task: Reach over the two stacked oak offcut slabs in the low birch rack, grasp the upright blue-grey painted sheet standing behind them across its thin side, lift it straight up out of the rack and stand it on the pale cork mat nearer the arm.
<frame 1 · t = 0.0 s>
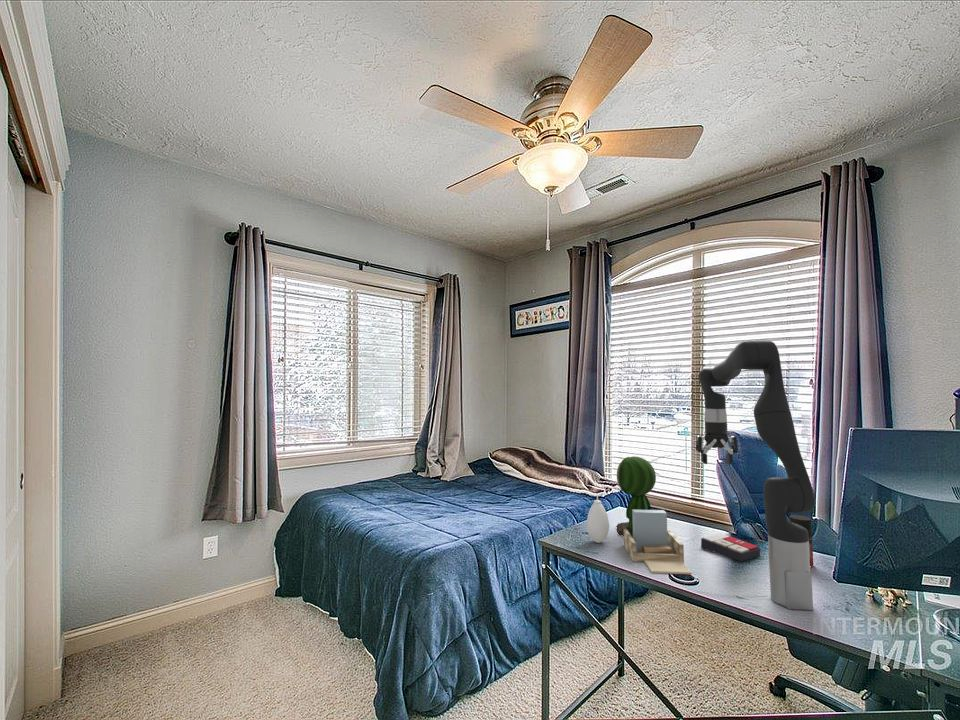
hand: (717, 464, 167), 29 cm above the table, fingers open, 8 cm apart
offcut slab lower: (655, 559, 152), on the table
sheet: (650, 551, 158), on the table
calculator: (729, 553, 158), on the table
cork mat: (667, 567, 144), on the table
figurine: (639, 532, 178), on the table
white rounded upright piece: (598, 542, 168), on the table
offcut slab upper: (656, 553, 152), point 2 cm above the table
rack: (652, 553, 156), on the table
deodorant: (802, 564, 146), on the table
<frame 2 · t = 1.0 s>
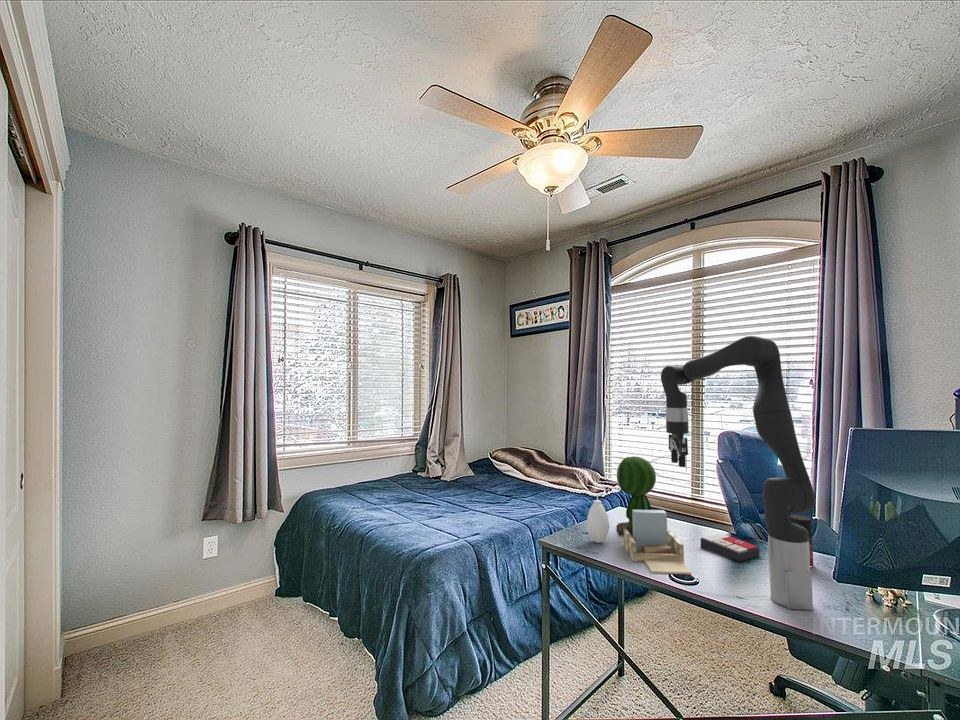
hand: (678, 464, 162), 30 cm above the table, fingers open, 8 cm apart
offcut slab lower: (655, 559, 152), on the table, touching offcut slab upper
offcut slab upper: (656, 553, 152), point 2 cm above the table, touching offcut slab lower
everything else where it was.
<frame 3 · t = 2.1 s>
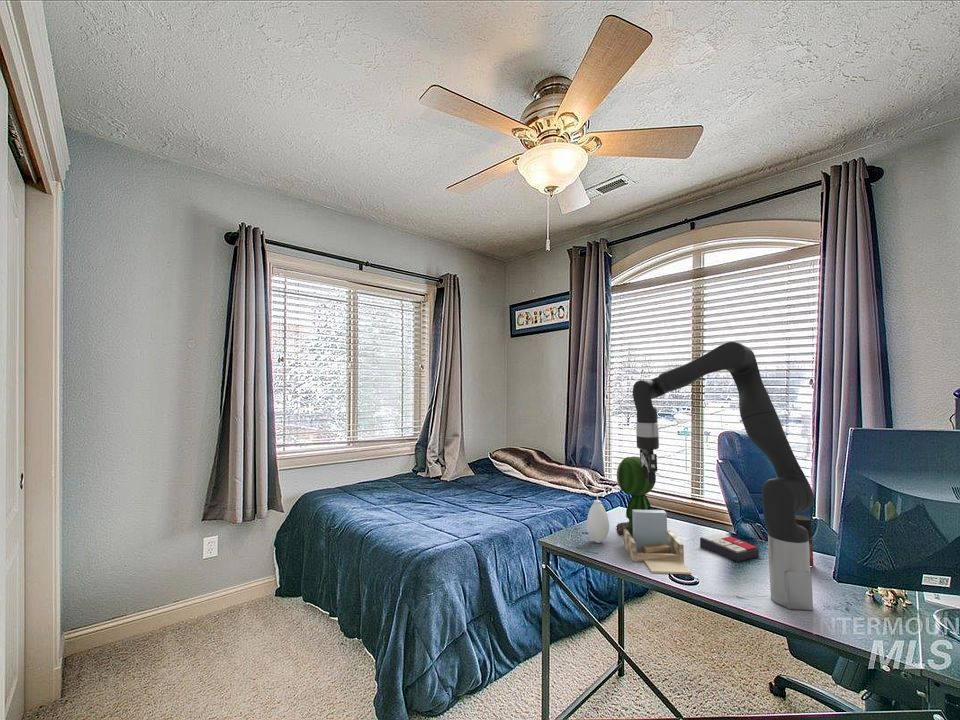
hand: (648, 480, 160), 25 cm above the table, fingers open, 8 cm apart
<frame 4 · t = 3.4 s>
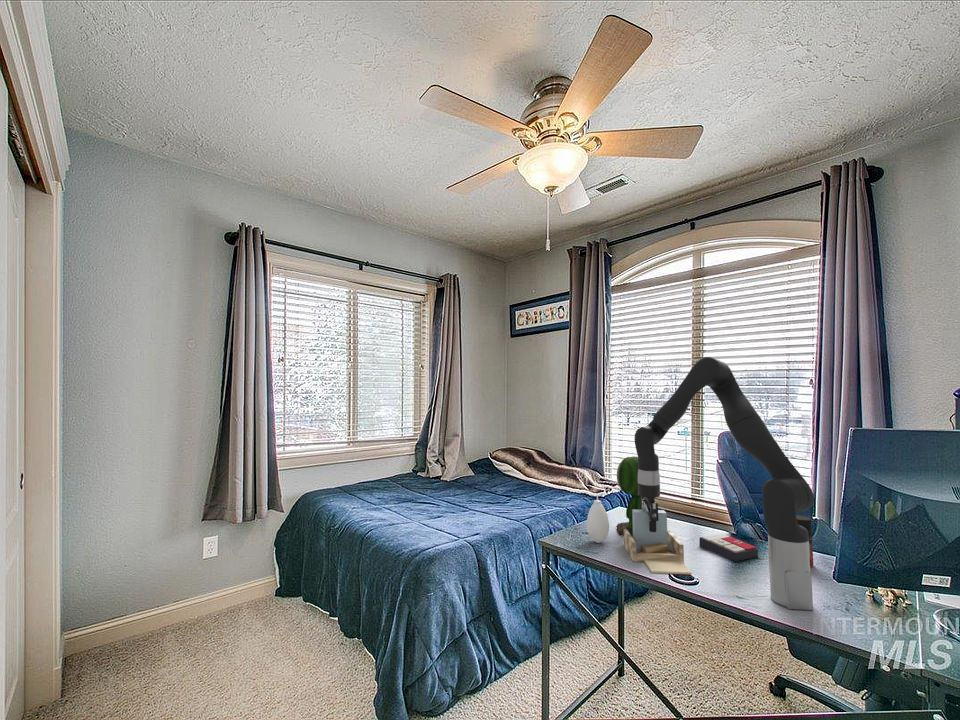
hand: (649, 527, 159), 8 cm above the table, fingers open, 8 cm apart
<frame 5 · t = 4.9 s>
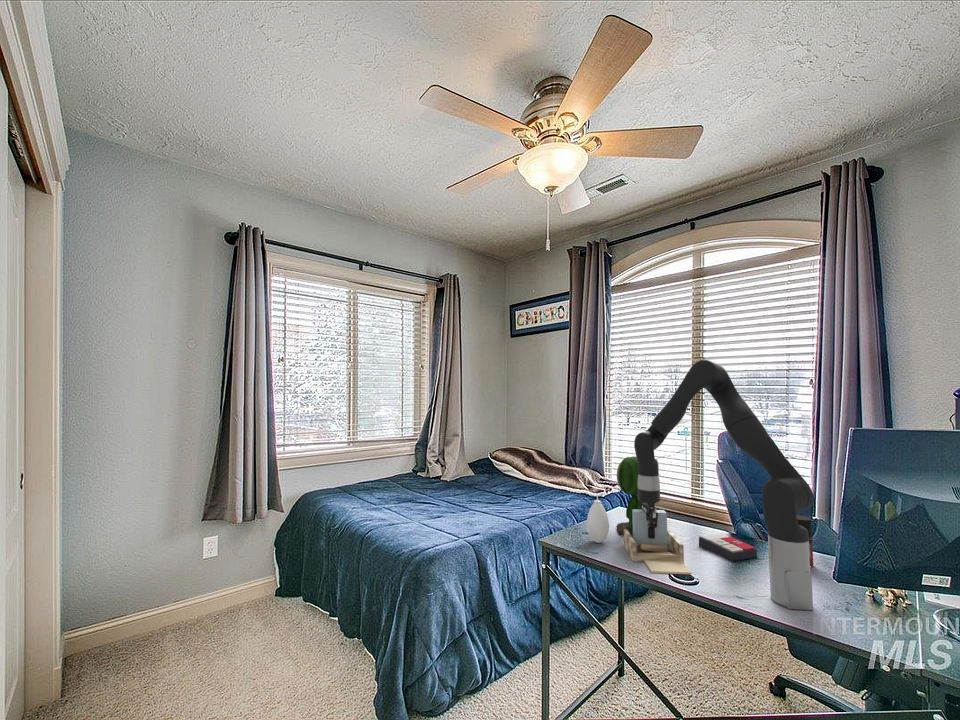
hand: (649, 536, 159), 5 cm above the table, fingers closed on sheet, 3 cm apart
offcut slab lower: (656, 560, 151), on the table
sheet: (650, 551, 158), on the table, touching gripper
offcut slab upper: (652, 552, 153), point 1 cm above the table, tilted 34°
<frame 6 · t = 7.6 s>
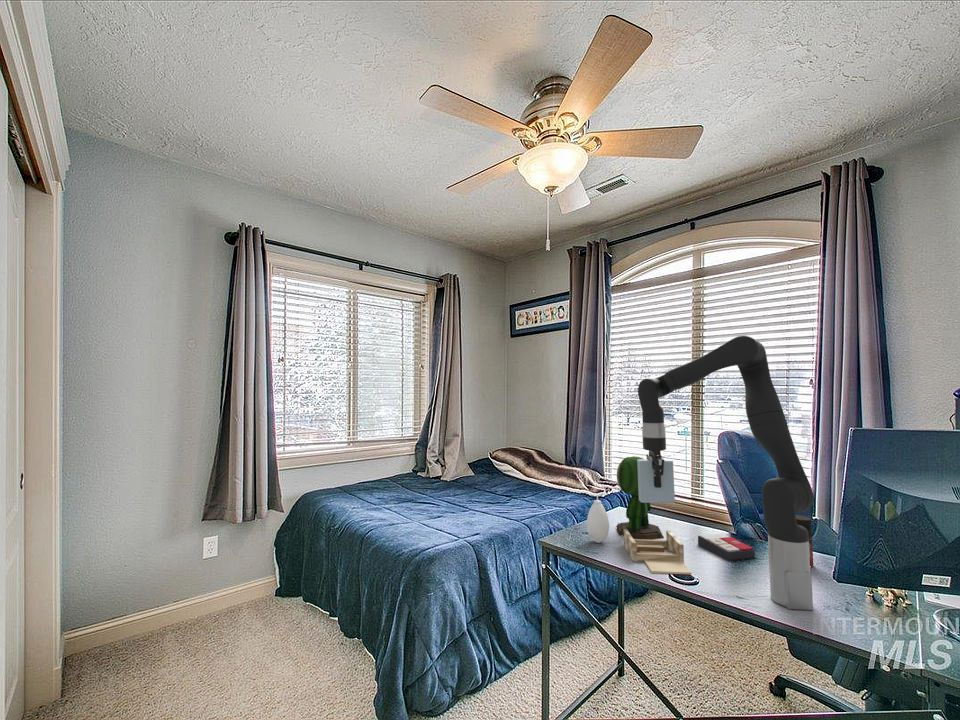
hand: (656, 485, 153), 24 cm above the table, fingers closed on sheet, 3 cm apart
sheet: (656, 501, 153), point 19 cm above the table, touching gripper
offcut slab upper: (650, 551, 154), point 1 cm above the table, tilted 90°
when the fingers open (7 cm above the table, at t = 11.8 s): sheet stays where it is, resting on cork mat.
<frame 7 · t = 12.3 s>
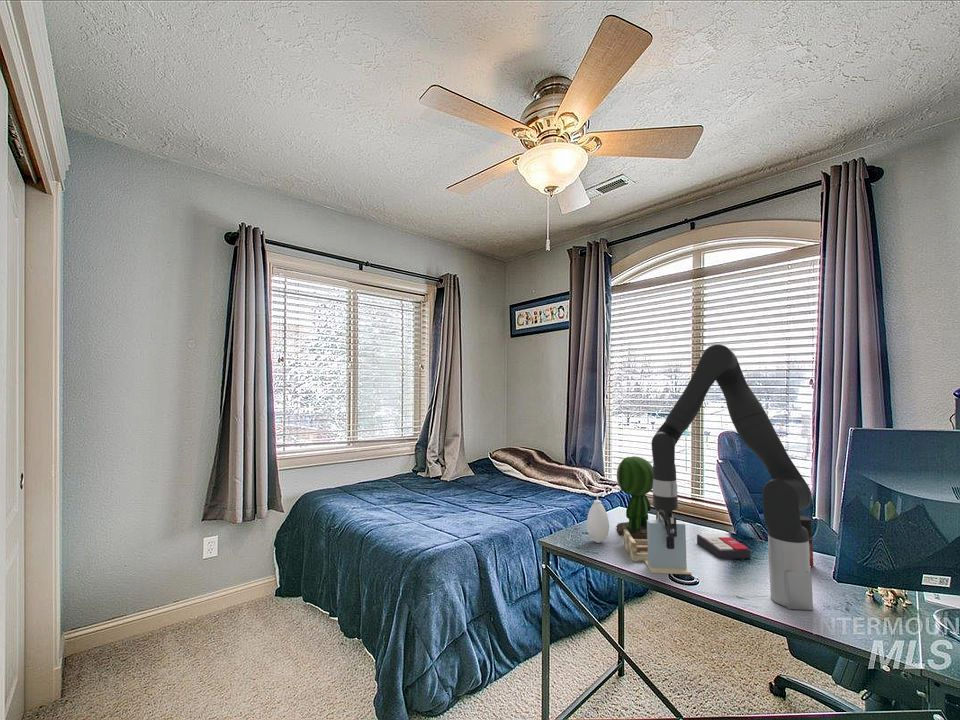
hand: (666, 544, 144), 8 cm above the table, fingers open, 8 cm apart
sheet: (667, 566, 144), point 1 cm above the table, touching cork mat
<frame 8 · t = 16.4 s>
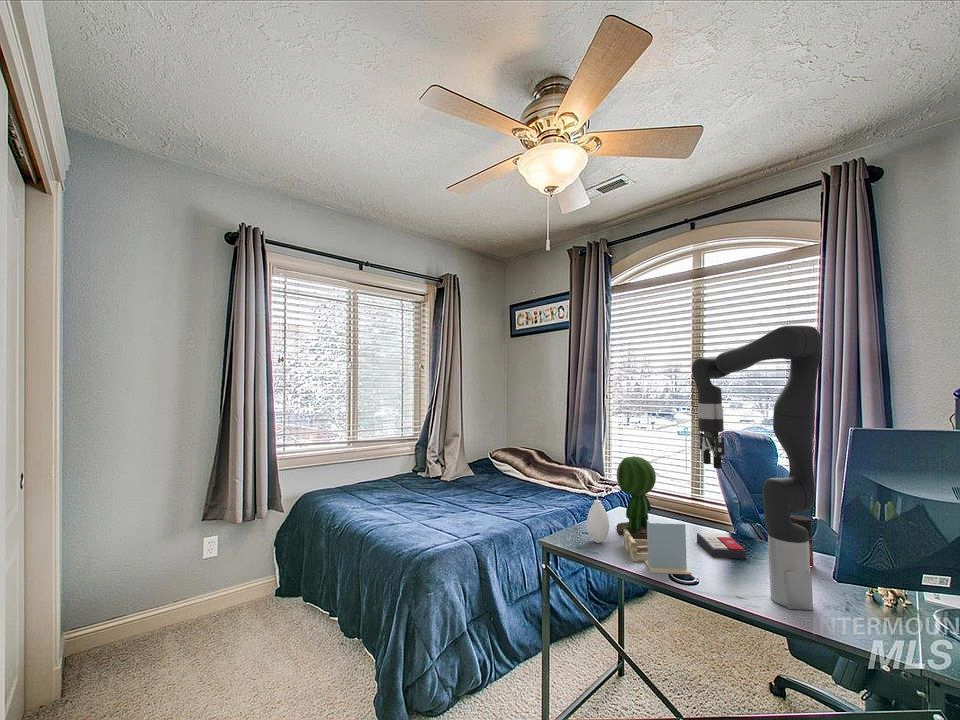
hand: (712, 466, 148), 32 cm above the table, fingers open, 8 cm apart
at the end: sheet inside the target area on the cork mat (0.1 cm from its centre), point 0.6 cm above the cork mat's base; sheet tilted 0°; the gripper is holding nothing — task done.
